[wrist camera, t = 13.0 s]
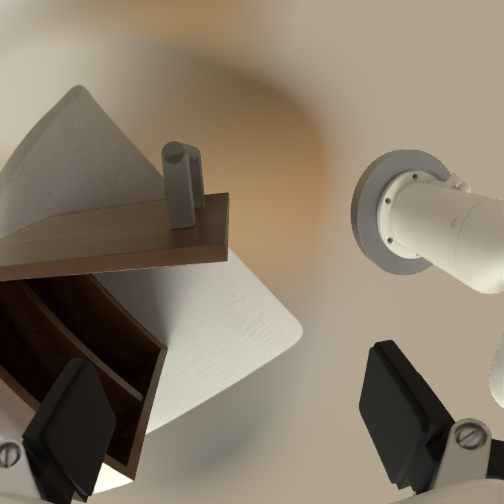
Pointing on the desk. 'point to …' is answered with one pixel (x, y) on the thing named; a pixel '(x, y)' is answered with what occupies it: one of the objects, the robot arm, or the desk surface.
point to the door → (128, 230)
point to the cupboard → (77, 346)
